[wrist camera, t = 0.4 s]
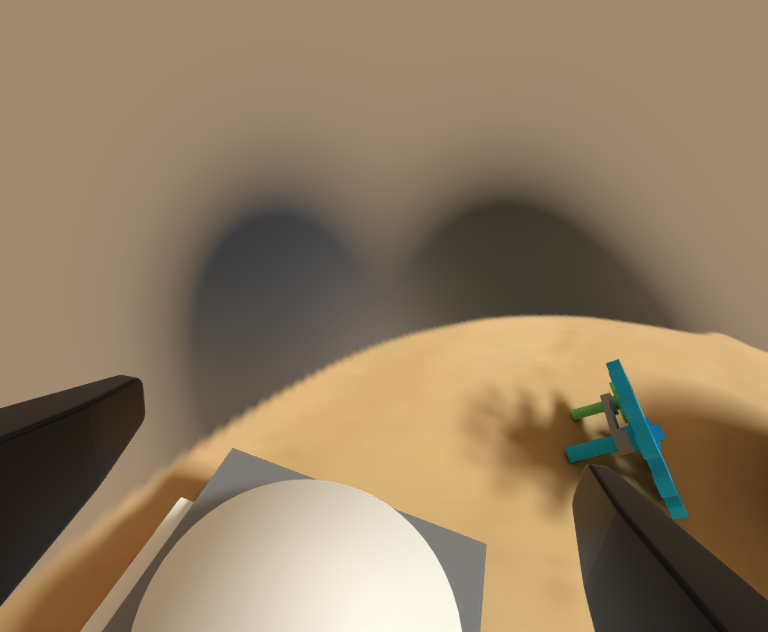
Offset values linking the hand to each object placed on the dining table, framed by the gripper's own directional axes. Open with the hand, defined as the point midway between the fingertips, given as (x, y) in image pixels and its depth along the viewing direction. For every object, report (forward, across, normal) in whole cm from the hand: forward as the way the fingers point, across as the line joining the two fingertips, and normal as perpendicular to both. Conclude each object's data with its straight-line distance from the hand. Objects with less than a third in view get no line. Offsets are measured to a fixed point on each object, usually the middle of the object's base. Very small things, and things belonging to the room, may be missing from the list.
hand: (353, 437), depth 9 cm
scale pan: (+3, +1, +11) cm, 11 cm away
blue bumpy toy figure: (+20, -16, +14) cm, 29 cm away
